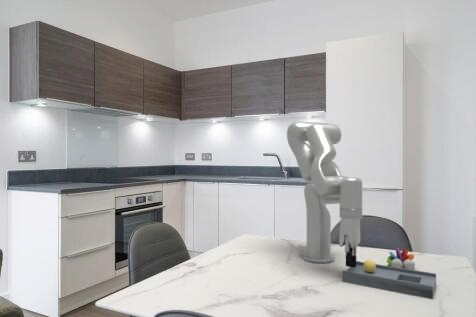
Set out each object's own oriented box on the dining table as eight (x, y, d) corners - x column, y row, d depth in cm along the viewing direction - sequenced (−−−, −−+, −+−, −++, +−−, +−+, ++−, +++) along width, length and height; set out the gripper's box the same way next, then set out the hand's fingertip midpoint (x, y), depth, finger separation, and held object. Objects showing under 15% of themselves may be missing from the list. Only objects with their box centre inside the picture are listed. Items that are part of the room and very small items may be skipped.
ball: (362, 272, 116) (362, 260, 116) (364, 269, 119) (364, 257, 119) (374, 274, 113) (374, 262, 113) (377, 271, 117) (377, 259, 117)
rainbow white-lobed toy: (418, 272, 124) (418, 252, 124) (389, 270, 126) (389, 250, 126) (411, 265, 132) (411, 246, 132) (384, 263, 134) (384, 245, 134)
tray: (342, 281, 114) (342, 270, 114) (354, 270, 126) (354, 260, 126) (432, 298, 100) (432, 286, 100) (436, 284, 111) (436, 273, 112)
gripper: (346, 210, 128) (346, 259, 128) (333, 215, 115) (333, 270, 115) (367, 211, 124) (367, 263, 124) (356, 217, 111) (356, 274, 111)
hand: (350, 266), depth 119 cm, fingers closed
